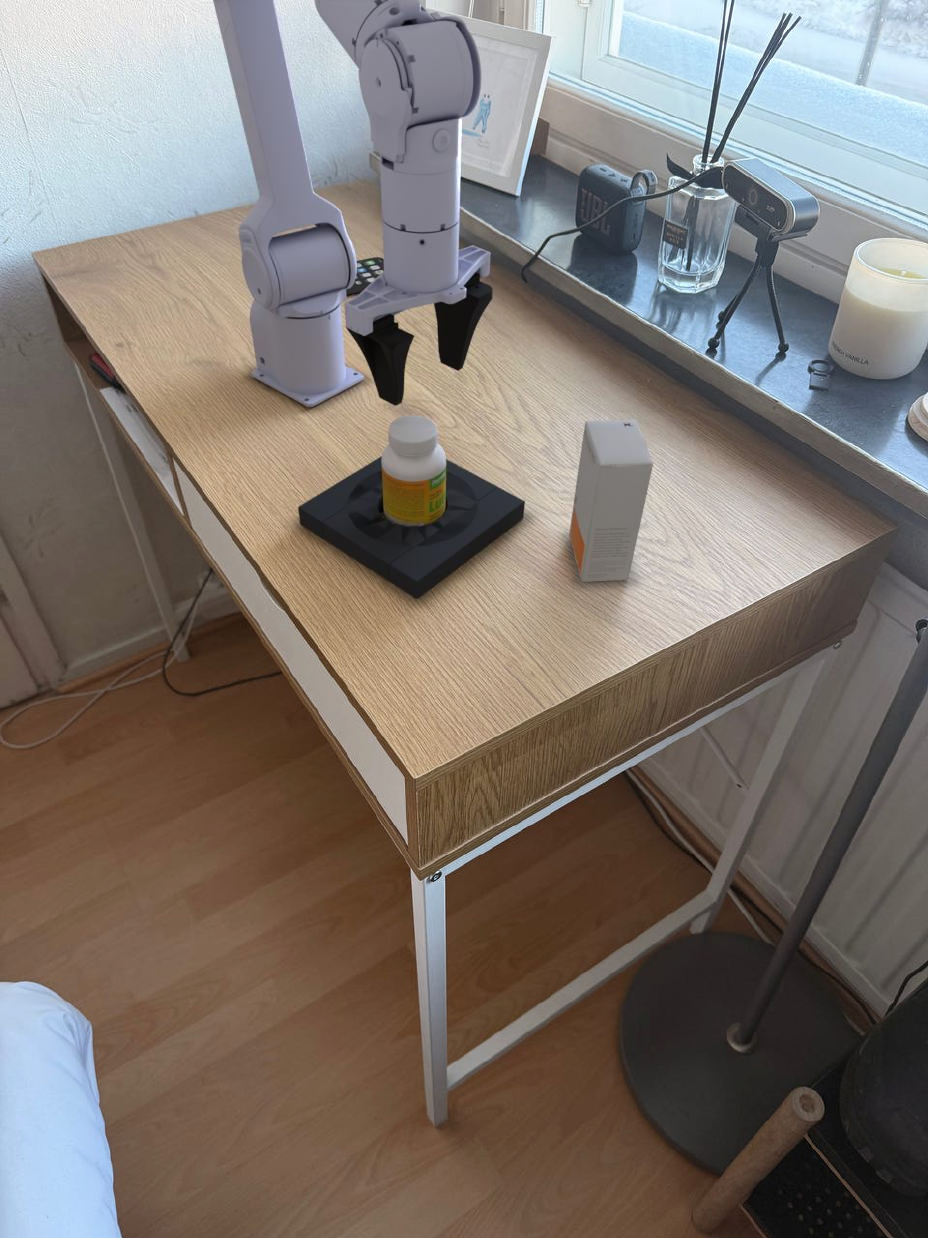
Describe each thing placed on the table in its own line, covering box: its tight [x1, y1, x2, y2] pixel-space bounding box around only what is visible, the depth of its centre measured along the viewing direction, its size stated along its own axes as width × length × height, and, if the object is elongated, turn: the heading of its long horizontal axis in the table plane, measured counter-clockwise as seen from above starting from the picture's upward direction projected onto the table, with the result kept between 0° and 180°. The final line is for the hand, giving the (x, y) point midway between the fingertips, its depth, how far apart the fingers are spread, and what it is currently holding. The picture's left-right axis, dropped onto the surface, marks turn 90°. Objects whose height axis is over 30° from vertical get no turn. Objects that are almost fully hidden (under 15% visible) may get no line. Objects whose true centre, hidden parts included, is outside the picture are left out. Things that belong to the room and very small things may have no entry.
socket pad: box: [297, 455, 526, 600], centre depth 76 cm, size 14×14×2 cm
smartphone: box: [346, 256, 384, 296], centre depth 109 cm, size 7×1×15 cm
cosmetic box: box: [568, 419, 654, 583], centre depth 70 cm, size 6×4×12 cm
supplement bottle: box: [381, 414, 447, 527], centre depth 73 cm, size 5×5×10 cm
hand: (421, 382), depth 74 cm, fingers open, 7 cm apart
